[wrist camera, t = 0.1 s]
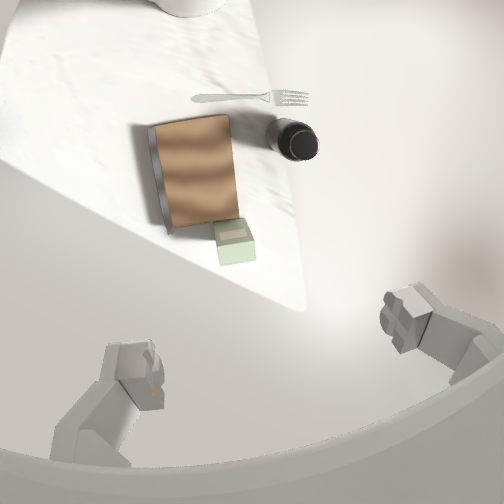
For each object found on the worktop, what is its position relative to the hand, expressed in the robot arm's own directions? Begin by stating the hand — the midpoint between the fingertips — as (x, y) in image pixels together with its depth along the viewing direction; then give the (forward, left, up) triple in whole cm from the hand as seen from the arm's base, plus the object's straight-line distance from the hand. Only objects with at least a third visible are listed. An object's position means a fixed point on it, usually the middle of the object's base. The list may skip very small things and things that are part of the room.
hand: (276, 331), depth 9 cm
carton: (+19, +2, -48) cm, 52 cm away
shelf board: (+6, -3, -48) cm, 48 cm away
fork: (-7, +7, -49) cm, 50 cm away
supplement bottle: (+1, +14, -48) cm, 50 cm away
